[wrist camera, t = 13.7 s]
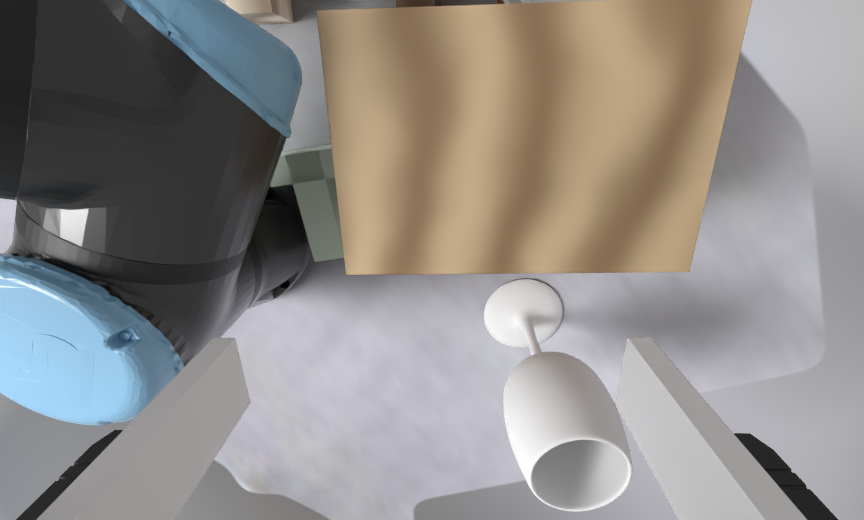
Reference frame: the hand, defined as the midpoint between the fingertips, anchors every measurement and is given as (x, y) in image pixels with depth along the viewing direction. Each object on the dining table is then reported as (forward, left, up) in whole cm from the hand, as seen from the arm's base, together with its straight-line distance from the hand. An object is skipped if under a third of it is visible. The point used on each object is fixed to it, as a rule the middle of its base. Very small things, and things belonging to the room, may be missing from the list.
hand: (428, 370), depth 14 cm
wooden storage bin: (+5, +6, -29) cm, 30 cm away
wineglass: (+9, -14, -29) cm, 33 cm away
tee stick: (-11, 0, -29) cm, 31 cm away
